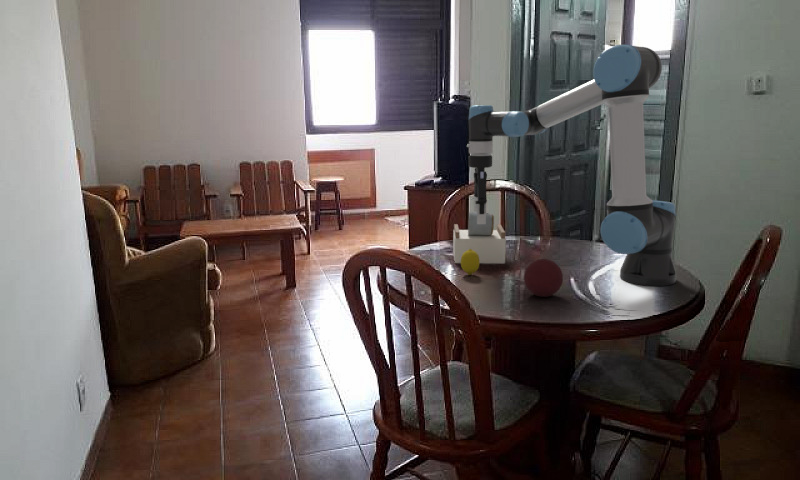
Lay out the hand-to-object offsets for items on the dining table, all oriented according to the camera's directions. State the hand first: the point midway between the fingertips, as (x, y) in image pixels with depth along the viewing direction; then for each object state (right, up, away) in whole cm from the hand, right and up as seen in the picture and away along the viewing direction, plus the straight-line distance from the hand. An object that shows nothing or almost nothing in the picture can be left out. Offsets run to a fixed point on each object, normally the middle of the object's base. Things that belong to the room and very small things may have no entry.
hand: (479, 220), depth 205 cm
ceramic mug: (0, -5, +1) cm, 5 cm away
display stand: (0, -12, +3) cm, 13 cm away
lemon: (-5, -17, -17) cm, 25 cm away
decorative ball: (+12, -21, -38) cm, 45 cm away
